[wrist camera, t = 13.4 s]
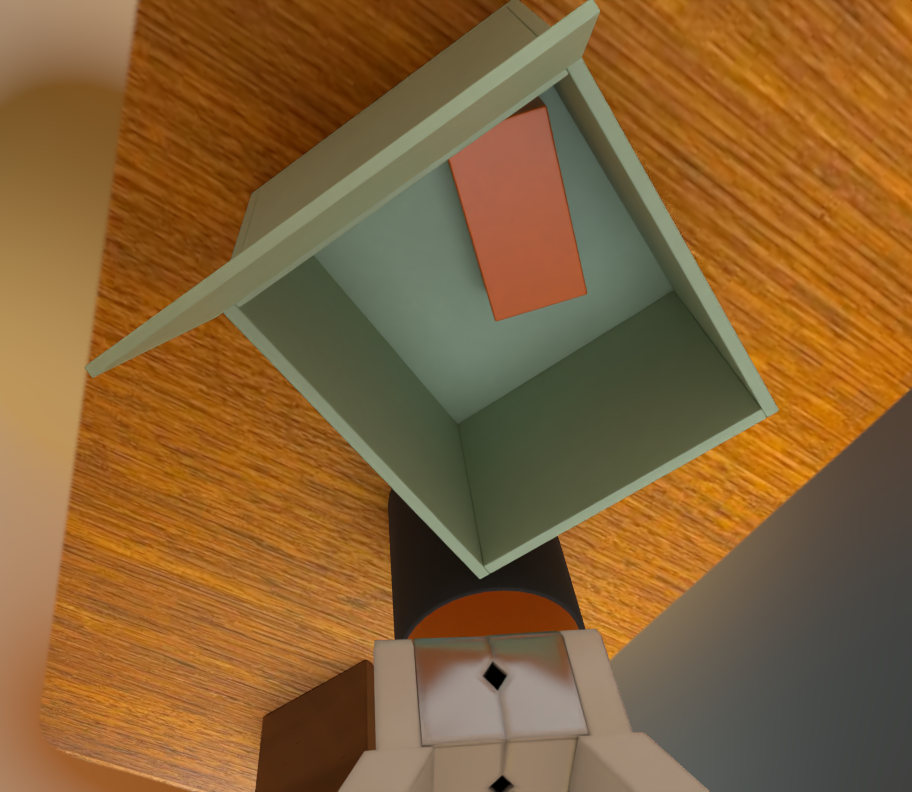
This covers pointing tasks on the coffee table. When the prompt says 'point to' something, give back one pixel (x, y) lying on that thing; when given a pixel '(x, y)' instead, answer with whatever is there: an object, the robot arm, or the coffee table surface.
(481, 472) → the green box
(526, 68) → the flap
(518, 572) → the mug
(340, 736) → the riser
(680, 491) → the coffee table surface
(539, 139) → the block
